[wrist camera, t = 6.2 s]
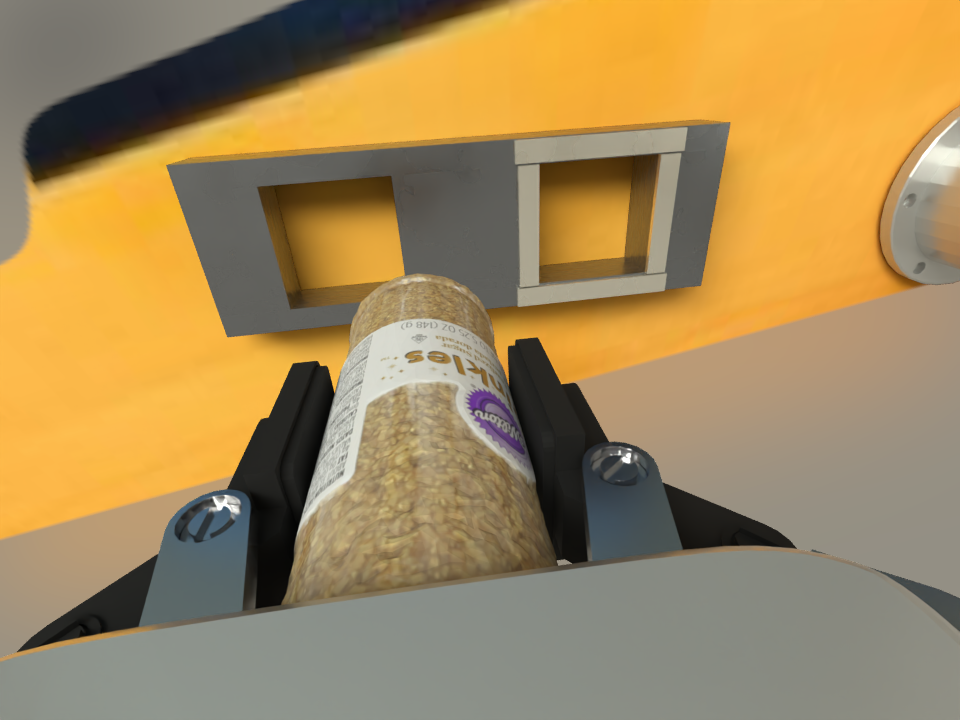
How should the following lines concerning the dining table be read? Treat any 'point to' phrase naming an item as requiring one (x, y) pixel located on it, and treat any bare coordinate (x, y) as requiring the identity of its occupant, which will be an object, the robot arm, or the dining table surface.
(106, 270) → the dining table surface
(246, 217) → the rail
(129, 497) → the dining table surface
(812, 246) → the dining table surface
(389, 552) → the sprinkles bottle
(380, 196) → the dining table surface
